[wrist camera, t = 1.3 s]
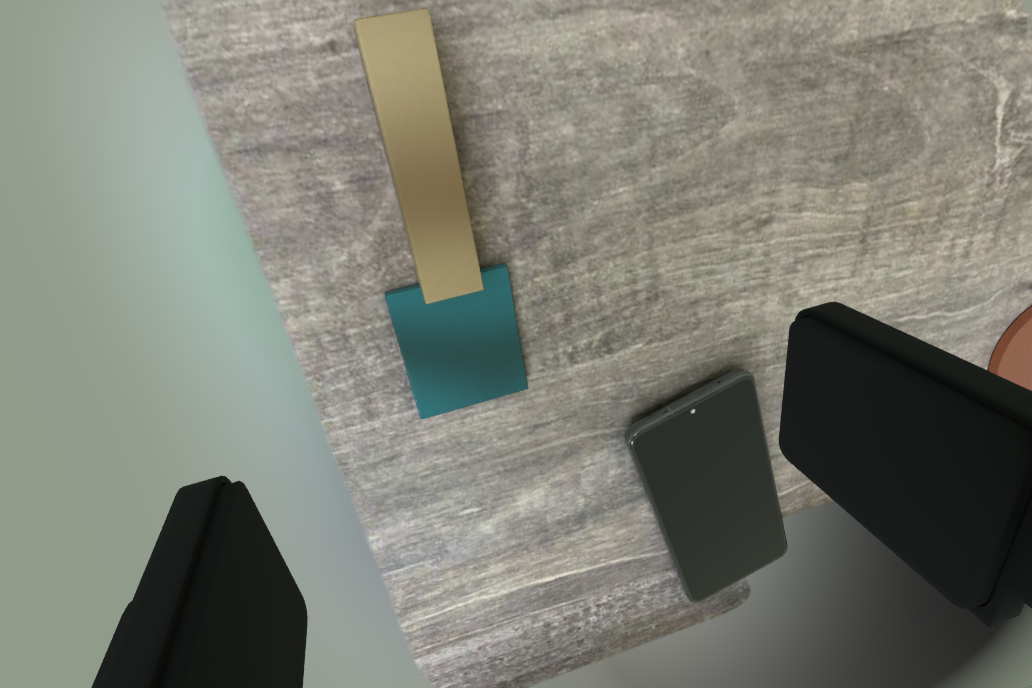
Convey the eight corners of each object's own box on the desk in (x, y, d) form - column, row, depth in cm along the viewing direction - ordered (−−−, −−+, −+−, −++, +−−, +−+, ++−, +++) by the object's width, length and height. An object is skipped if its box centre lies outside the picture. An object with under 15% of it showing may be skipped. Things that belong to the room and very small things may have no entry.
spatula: (308, 33, 17) (303, 27, 15) (460, 9, 18) (475, 0, 16) (419, 414, 24) (426, 445, 22) (525, 384, 25) (541, 411, 23)
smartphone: (692, 608, 35) (625, 437, 27) (683, 594, 36) (616, 425, 27) (791, 553, 35) (755, 367, 27) (780, 541, 36) (742, 357, 28)
